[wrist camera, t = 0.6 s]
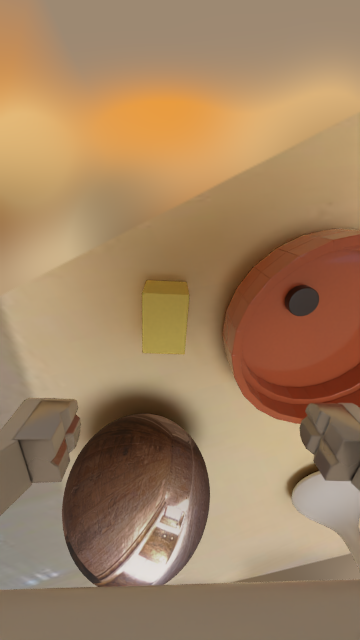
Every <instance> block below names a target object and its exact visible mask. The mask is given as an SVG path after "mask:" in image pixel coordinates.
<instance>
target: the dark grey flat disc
mask: <svg viewBox="0 0 360 640" xmlns="http://www.w3.org/2000/svg"><path fill="white" fill-rule="evenodd" d="M318 303H319V295H318V293H317V291H316V290H314V289H313V288H311V287H309V286H306V285H300V286H296V287H294V288H293V289H291V290H290V291H289V292H288V294H287V295H286V298H285V306H286V308H287V310H288V311H290V312H291V313H292V314H293V315H295V316H306V315H308V314H310V313H312V312H313V311H314V310H315V309H316V307H317V306H318Z"/></svg>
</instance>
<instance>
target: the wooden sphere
mask: <svg viewBox="0 0 360 640" xmlns="http://www.w3.org/2000/svg"><path fill="white" fill-rule="evenodd" d="M209 503H210V487H209V478H208V473H207V469H206V465H205V462H204V459H203V457H202V454H201V452H200V450H199V448H198V447H197V445H196V443H195V442H194V440H193V439H192V438H191V437H190V435H189V434H188V433H187V432H186V431H185V430H184V429H183V428H181V427H180V426H179V425H178V424H176V423H175V422H173V421H171V420H169V419H167V418H164V417H162V416H158V415H153V414H134V415H129V416H126V417H123V418H120V419H118V420H115V421H113V422H112V423H110V424H108V425H107V426H105V427H104V428H102V429H101V430H100V431H99V432H97V433H96V434H95V435H94V436H93V437H92V438H91V439H90V440H89V442H88V443H87V444H86V445H85V447H84V448H83V449H82V451H81V452H80V454H79V455H78V457H77V459H76V461H75V463H74V465H73V467H72V469H71V471H70V474H69V477H68V480H67V483H66V487H65V491H64V497H63V506H62V521H63V531H64V536H65V540H66V544H67V547H68V550H69V552H70V554H71V557H72V559H73V560H74V562H75V564H76V566H77V567H78V568H79V570H80V571H81V572H82V574H83V575H84V576H85V577H86V578H87V579H88V580H89V581H91V582H92V583H93V584H95V585H96V586H98V587H113V586H146V585H164V584H165V583H167V582H168V581H170V580H171V579H172V578H173V577H174V576H176V575H177V574H178V573H179V572H180V571H181V570H182V569H183V567H184V566H185V565H186V564H187V562H188V561H189V560H190V558H191V557H192V555H193V554H194V552H195V550H196V548H197V546H198V544H199V542H200V540H201V538H202V535H203V532H204V529H205V526H206V522H207V517H208V512H209Z"/></svg>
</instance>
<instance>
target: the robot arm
mask: <svg viewBox="0 0 360 640" xmlns="http://www.w3.org/2000/svg"><path fill="white" fill-rule="evenodd" d="M77 410H78V404H77V400H75V399H55V398H28V399H26V400H24V402H23V403H22V404H21V405H20V407H19V408H18V409H17V410H16V412H15V413H14V414H13V415H12V417H11V418H10V419H9V420H8V422H7V423H6V424H5V425H4V427H3V428H2V429H1V431H0V515H1V514H3V513H4V512H5V511H6V510H7V509H8V508H9V507H10V506H11V505H12V504H13V503H14V502H15V501H16V500H17V499H18V498H19V497H20V496H21V495H22V494H23V493H24V492H25V491H26V490H27V489H28V488H29V487H30V486H31V485H32V483H41V482H61V481H62V479H63V476H64V474H65V471H66V469H67V467H68V464H69V462H70V458H69V453H70V452H71V451H72V450H73V449H74V448H75V447H76V444H77V442H78V439H79V434H80V425H81V423H80V418H79V417H78V416H77V415H76V412H77ZM305 412H306V414H307V417H306V418H304V419H303V420H302V422H301V425H300V436H301V439H302V442H303V444H304V445H305V447H306V449H307V450H309V451H310V452H311V453H313V454H314V463H315V464H316V466H317V468H318V469H319V471H320V473H321V474H322V476H323V478H324V480H325V481H351V484H353V485H354V486H355V487H356V488H357V489H358V490H359V491H360V408H359V407H358V406H357V405H355V404H353V403H310V404H309V405H308V406H307V408H306V410H305ZM0 640H360V579H350V580H317V581H316V580H315V581H284V582H283V581H281V582H248V583H214V584H180V585H146V586H113V587H80V588H47V589H14V590H0Z"/></svg>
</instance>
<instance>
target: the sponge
mask: <svg viewBox="0 0 360 640" xmlns="http://www.w3.org/2000/svg"><path fill="white" fill-rule="evenodd" d="M188 306H189V291H188V287H187V282H177V281H156V280H146V283H145V286H144V289H143V292H142V352H143V353H158V354H185V343H186V330H187V318H188Z"/></svg>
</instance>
